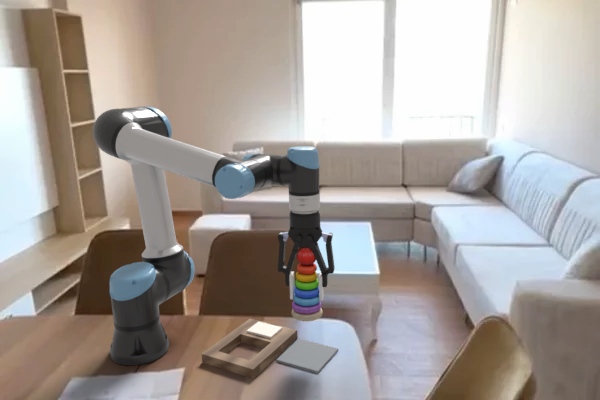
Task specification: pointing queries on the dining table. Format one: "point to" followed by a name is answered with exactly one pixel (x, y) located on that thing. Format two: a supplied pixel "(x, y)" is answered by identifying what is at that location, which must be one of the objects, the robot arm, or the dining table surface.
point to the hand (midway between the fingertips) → (306, 297)
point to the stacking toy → (306, 288)
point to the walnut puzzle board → (252, 334)
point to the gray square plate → (307, 355)
